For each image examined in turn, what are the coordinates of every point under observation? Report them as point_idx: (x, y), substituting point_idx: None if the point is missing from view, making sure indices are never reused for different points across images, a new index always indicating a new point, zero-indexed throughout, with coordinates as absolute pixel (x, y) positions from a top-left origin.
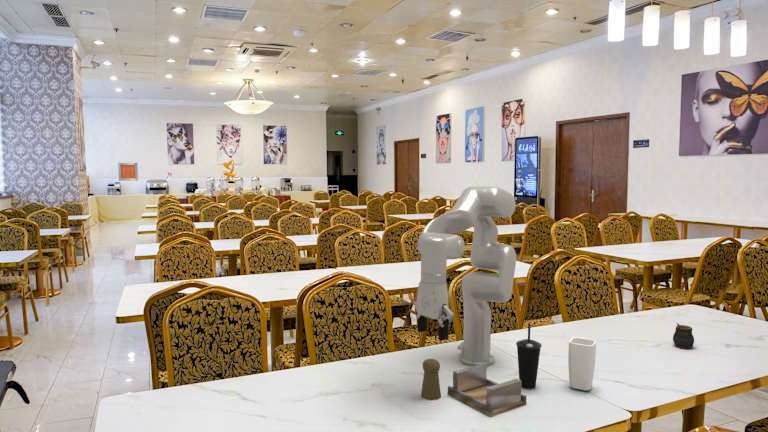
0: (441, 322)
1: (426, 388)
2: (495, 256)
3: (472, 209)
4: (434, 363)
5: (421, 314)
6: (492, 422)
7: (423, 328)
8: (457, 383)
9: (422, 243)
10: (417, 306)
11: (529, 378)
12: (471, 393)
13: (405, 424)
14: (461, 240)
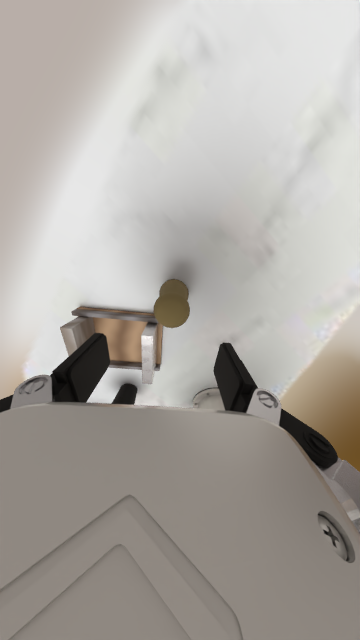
0: (15, 402)
1: (169, 284)
2: None
3: None
4: (156, 309)
5: (206, 414)
6: (65, 297)
7: (219, 365)
8: (145, 327)
9: None
10: (326, 521)
11: (116, 396)
12: (139, 333)
13: (113, 173)
14: None
